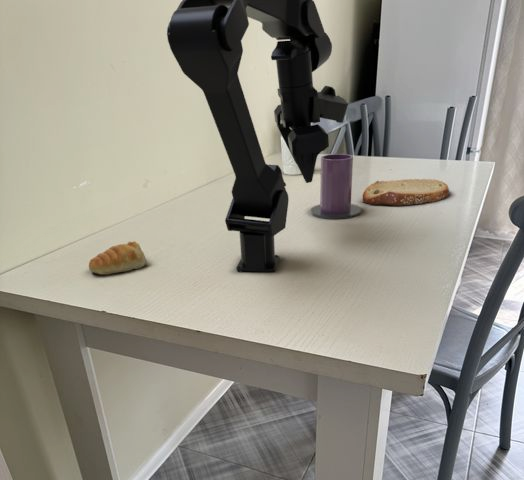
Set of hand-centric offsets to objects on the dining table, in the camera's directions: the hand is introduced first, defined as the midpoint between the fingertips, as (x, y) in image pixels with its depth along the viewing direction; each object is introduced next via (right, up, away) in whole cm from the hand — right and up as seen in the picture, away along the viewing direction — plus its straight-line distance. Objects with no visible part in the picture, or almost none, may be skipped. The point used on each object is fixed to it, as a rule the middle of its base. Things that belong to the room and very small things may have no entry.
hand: (303, 172), depth 96 cm
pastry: (-32, -19, -7) cm, 38 cm away
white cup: (+2, +18, +52) cm, 55 cm away
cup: (+8, -3, +16) cm, 18 cm away
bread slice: (+26, +2, +24) cm, 35 cm away
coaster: (+8, -3, +16) cm, 18 cm away
